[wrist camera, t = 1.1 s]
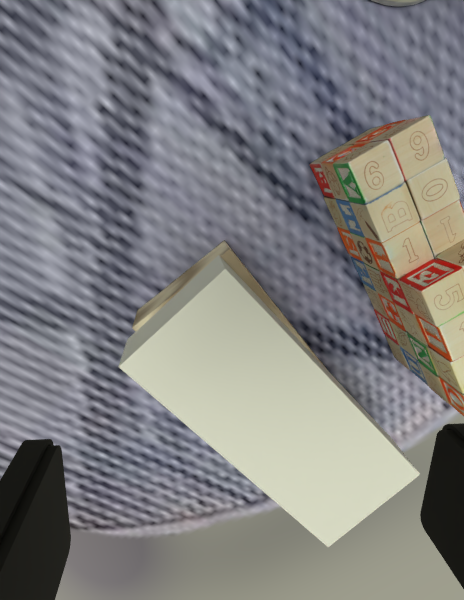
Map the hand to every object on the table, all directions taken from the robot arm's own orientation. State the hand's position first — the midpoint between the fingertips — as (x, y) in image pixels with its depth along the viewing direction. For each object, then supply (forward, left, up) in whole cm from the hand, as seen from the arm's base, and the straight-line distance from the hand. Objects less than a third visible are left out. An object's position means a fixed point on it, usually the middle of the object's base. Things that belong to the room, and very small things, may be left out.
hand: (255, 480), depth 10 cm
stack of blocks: (-14, +10, -28) cm, 33 cm away
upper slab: (+2, +12, -24) cm, 27 cm away
